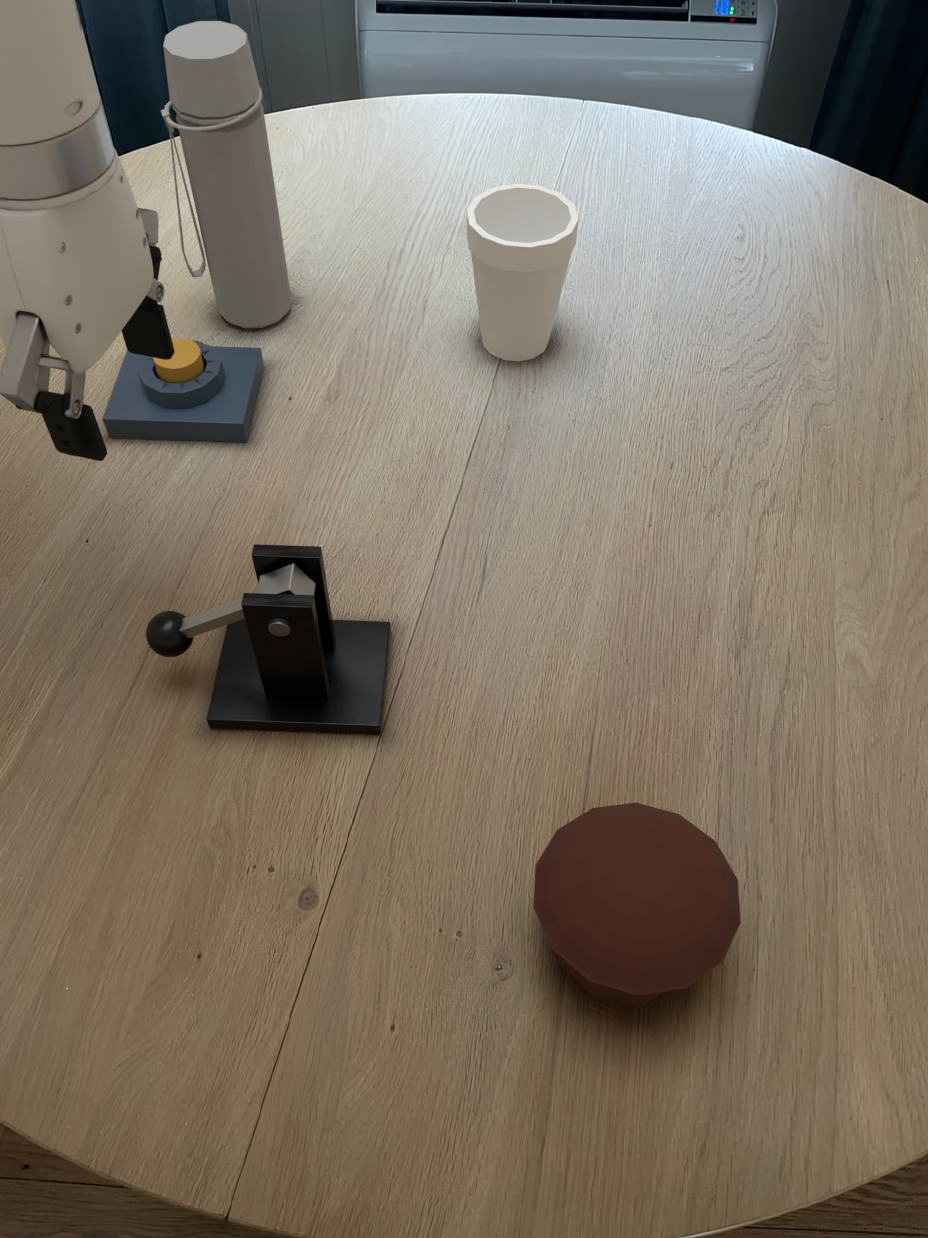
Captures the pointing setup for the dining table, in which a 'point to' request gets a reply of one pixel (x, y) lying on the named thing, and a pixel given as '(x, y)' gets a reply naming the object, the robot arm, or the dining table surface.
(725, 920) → the muffin
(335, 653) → the bracket
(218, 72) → the water bottle
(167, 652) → the tap lever
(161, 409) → the button housing
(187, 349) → the button
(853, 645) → the dining table surface
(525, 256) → the foam cup
